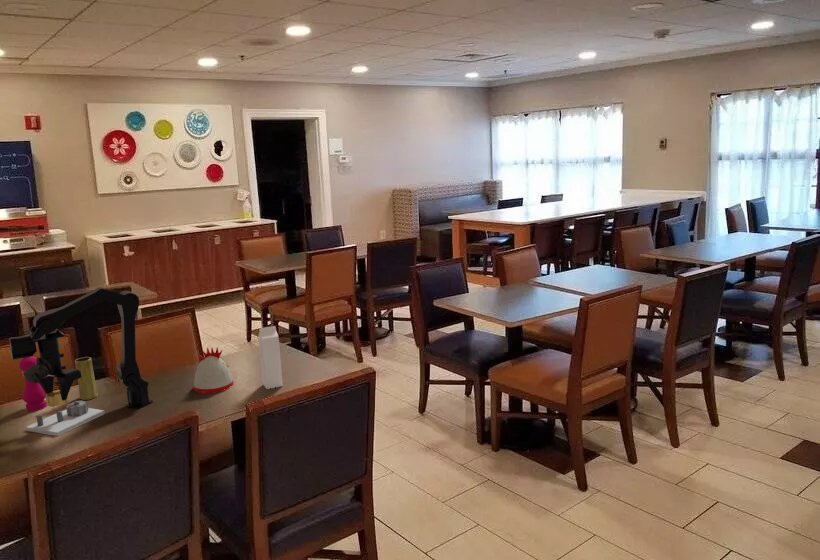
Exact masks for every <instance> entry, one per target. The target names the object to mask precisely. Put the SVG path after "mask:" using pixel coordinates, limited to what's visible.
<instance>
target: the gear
mask: <svg viewBox="0 0 820 560" xmlns="http://www.w3.org/2000/svg"><path fill="white" fill-rule="evenodd" d="M45 400H46V403H47V406H46V407H51V408H52V407H53V408H54V407H57V406H59V407H60V406H63V405H64V404H67V403H68V404H69V395H68V396H67V399H66V400H64V401H63V400H62V397H61V394H60V390H56V391H55V390H53V392H51V393H48V394H46V396H45Z"/></svg>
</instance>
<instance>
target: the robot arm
mask: <svg viewBox="0 0 820 560" xmlns="http://www.w3.org/2000/svg"><path fill="white" fill-rule="evenodd" d="M103 301H104V302H108V303H111V304H116V305H117V309H118V314H119V315H120V318H121V319H120V321H121V326H120V327H121V328H120V329H121V361H120V363H116V364H115V366H116V373H115V376H116V377H117V378H118V379H119V381H120V383H122V384H123V385H124V386H125V387H126V397H127V403H126V404H125V407H128V408H134V409H141V408H143V407H145V406H147V405H149V404H151V403H153V401H154V400H152V399H150V397H149V389H148V388H149V382H148V381H147V380H146V379H145V378H144V377H142V375H141V372H140V368H139V365H138V362H137V355H136V354H137V353H136V351H137V349H136V346H137V345H136V317H137V314H138V313H139V308H140V307H139V306H140V297H139V296H138V295H137V294H135V293H133V292H132V291H130V290H122V291H118V290H114V289H110V288H109V289H108V288H105V287H102V286H98V287H96V288H95V289H93V290H92V291H90V292H88V293H86V294H84V295H82V296H80V297H77V298H76V299H74V300H72V301H70V302H69V303H66V304H64V305H63V306H60V307H58V308H52V309H49V310H45V311H42V312H39V313H37V314H36V315H35V316H34V317H33V320H32V324H33V325H32V326H31V328H30V330H29V331H28V333H27V335H21V336H14V337H9V338H8V340H9V352H10V356H11V360H12V361H14V360H19V359H23V358H26V357H31V356H34V355H35V354H36V353H37V351H38V354H39V356H38V357H36V358H37V359H36V362H37V363H36V364H35V365H33V366H32V367H30V368H29V369H27V370H26V371H25V372H24V373H23V374H22V376H23V375H24V376H25V377H24V376H23V377H24V379H25V378H26V380H27V381H28V382H33V383H39V384H40V385H41V387H42V388H43V390H44V392H45V393H46V394H48V393H51V392H53V391H54V385H56V386H57V387H58V389H59V390H58V391H60V394H61V397H62V400H63V401H64V400H66V399H67V396H68V397H69V392H70V390H71V388H72V385H73V383H74V381H77V380H78V379H79V378H81V377H82V374H81V371H80V370H78V369H76V368H68V369H67V367H66V365H65V364H64V365H63V361H62V358H64V357H65V356H64V354H65V353H62V352H61V350H60V345H59V344H60V343H59V338H63V337H65V336H66V335H65V334H64V333H63V332H62V331H59V329H58V328H59V327H61V326H62V325H63V324H64V323H65V322H66V321H67V320H68V319H70V318H72V317H74V316H76V315H78V314H81V312H84V311H85V310H87V309H89V308H91V307H93V306H95V305H97V304H99V303H101V302H103ZM37 347H38V350H37ZM55 378H56V380H57V381H56V382H54V381H55V380H54V379H55Z"/></svg>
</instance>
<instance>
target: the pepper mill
mask: <svg viewBox="0 0 820 560" xmlns="http://www.w3.org/2000/svg"><path fill="white" fill-rule="evenodd" d="M37 358H38V357H36V356H34V355H33V356H31V357H26V358H21V360H20V361H19V364H18V366H19V367H18V368H19V369H20V370H21V374H22V377H24V380H25V385H24V388H23V392H22V401H23V402H24V403H26V404H25V409H26V411H28V412H34V411H39V410H43V409H44V408H46V407H48V406H47V403H46V397H45V396H46V393H45V392H44V390H43V388H42V387H41V385H40V384H39V383H33V382H28V381H27V380H26V378H25V376H24V375H23V373H24V372H25V371H26V370H27V369H29V368H30V367H32V366H33V365H35V364H36V363H37V362H36V359H37Z"/></svg>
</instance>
